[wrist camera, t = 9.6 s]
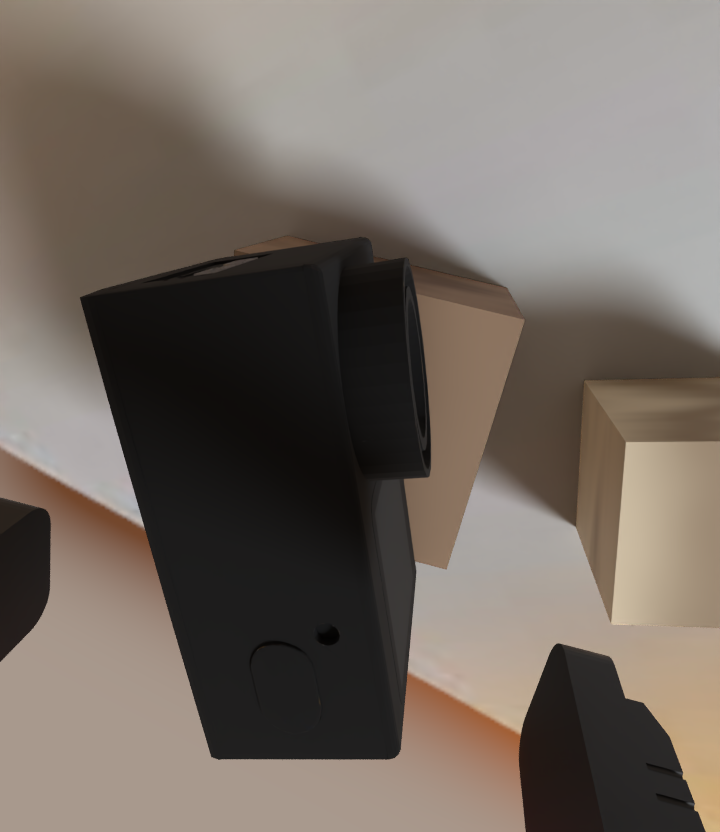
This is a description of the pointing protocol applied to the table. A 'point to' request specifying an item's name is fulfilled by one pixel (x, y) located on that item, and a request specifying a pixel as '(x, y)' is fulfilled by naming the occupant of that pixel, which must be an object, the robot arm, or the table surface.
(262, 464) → the digital camera
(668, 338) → the table surface
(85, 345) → the table surface
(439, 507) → the walnut block
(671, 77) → the table surface
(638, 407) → the oak block
